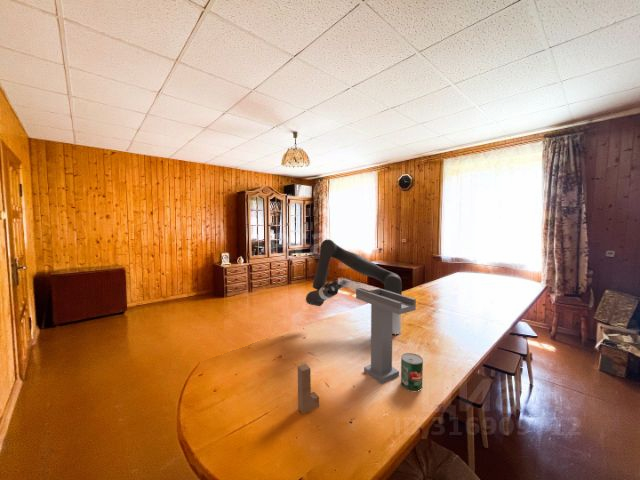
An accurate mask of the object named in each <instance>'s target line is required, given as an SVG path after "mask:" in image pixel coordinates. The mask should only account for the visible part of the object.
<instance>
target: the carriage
mask: <svg viewBox="0 0 640 480" xmlns="http://www.w3.org/2000/svg"><path fill="white" fill-rule="evenodd" d="M337 282H338V284H339V285H342V286H345V287H346V288H347V289H348V290H349V291H353V292H355V293H356V289H357V288H359V289H362V290H365V291H368V292H371V293H374V294H377V295H380V289H381V288H380V287H377V288H376V286H373V285H370V284H366V283H363V282H359V281H358V282H356V281H355V280H352V279H351V280H349V278H345V277H338V278H337Z"/></svg>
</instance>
